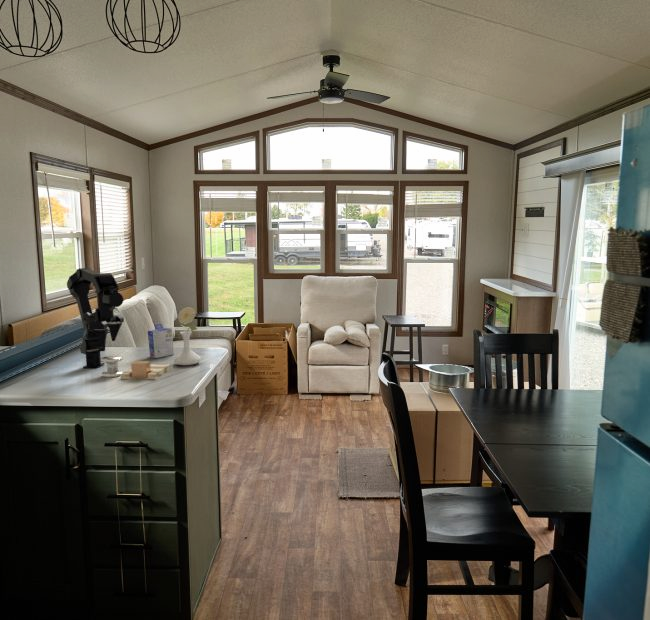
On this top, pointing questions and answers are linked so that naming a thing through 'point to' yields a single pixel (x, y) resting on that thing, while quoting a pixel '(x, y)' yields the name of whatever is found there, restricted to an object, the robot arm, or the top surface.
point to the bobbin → (112, 366)
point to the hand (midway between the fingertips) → (108, 343)
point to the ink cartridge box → (160, 342)
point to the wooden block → (140, 369)
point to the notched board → (154, 374)
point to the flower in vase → (187, 338)
